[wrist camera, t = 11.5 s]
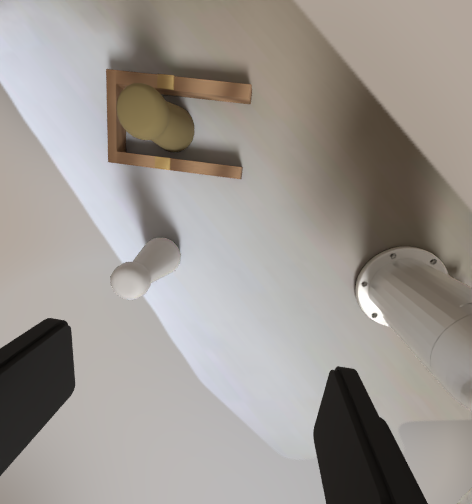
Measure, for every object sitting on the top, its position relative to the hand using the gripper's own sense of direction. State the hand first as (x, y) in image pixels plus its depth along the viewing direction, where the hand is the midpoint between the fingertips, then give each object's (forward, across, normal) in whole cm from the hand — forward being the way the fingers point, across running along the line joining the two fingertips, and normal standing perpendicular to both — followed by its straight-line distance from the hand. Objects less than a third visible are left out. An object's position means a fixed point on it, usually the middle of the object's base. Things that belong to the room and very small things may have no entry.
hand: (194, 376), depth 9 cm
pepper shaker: (+31, +12, -12) cm, 35 cm away
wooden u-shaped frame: (+30, +10, -12) cm, 34 cm away
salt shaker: (+31, +12, +6) cm, 33 cm away
